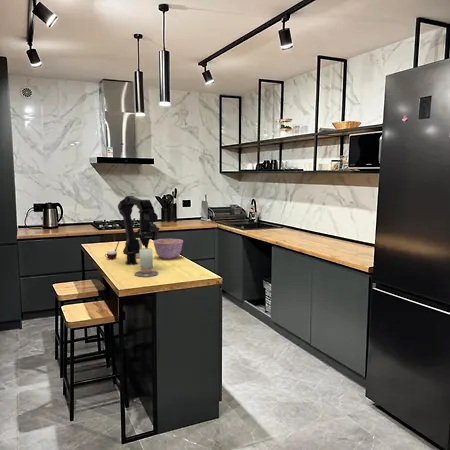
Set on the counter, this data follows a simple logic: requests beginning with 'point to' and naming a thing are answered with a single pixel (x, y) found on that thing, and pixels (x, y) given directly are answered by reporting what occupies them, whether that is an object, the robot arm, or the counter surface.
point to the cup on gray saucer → (146, 272)
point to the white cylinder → (146, 258)
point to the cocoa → (112, 253)
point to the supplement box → (140, 248)
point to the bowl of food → (168, 247)
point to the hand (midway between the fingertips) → (145, 247)
